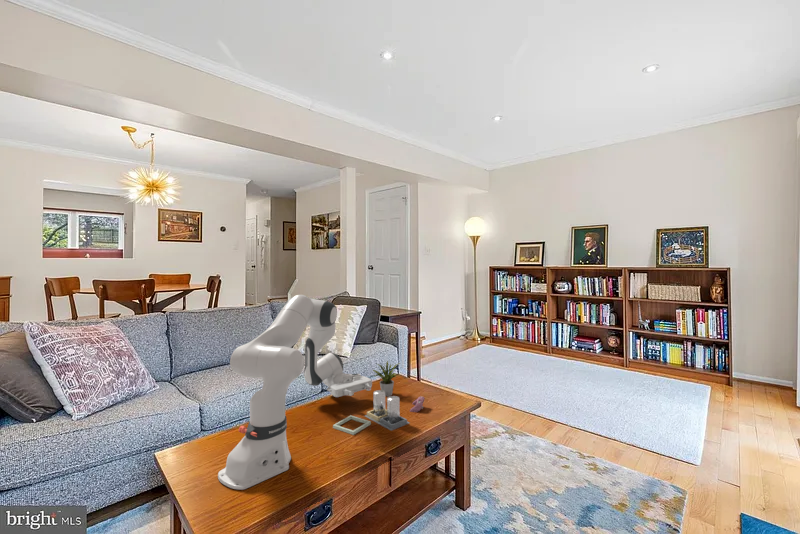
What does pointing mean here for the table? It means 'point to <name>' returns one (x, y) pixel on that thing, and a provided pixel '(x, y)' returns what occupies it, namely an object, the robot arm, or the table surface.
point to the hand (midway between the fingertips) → (361, 391)
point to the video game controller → (417, 404)
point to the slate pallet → (383, 420)
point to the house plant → (386, 379)
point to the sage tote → (338, 427)
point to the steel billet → (379, 402)
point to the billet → (393, 409)
